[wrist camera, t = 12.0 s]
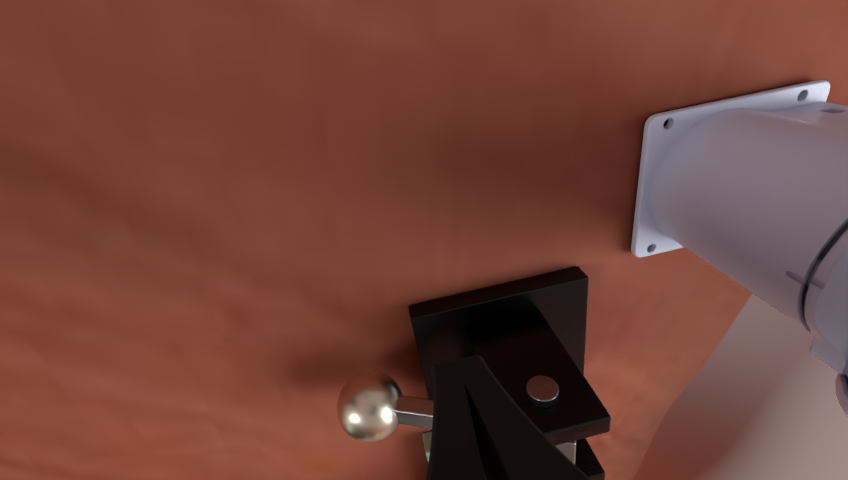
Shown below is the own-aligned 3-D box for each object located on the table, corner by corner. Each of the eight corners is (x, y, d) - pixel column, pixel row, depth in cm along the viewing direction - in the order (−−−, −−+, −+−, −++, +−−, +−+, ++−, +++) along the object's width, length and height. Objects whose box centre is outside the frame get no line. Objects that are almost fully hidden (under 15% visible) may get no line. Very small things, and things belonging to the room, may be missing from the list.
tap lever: (361, 395, 25) (335, 450, 22) (347, 353, 23) (316, 407, 20) (572, 425, 21) (574, 496, 18) (574, 377, 19) (577, 447, 17)
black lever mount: (429, 400, 27) (459, 542, 19) (407, 305, 23) (436, 438, 15) (574, 364, 27) (656, 488, 20) (578, 265, 23) (681, 375, 16)
